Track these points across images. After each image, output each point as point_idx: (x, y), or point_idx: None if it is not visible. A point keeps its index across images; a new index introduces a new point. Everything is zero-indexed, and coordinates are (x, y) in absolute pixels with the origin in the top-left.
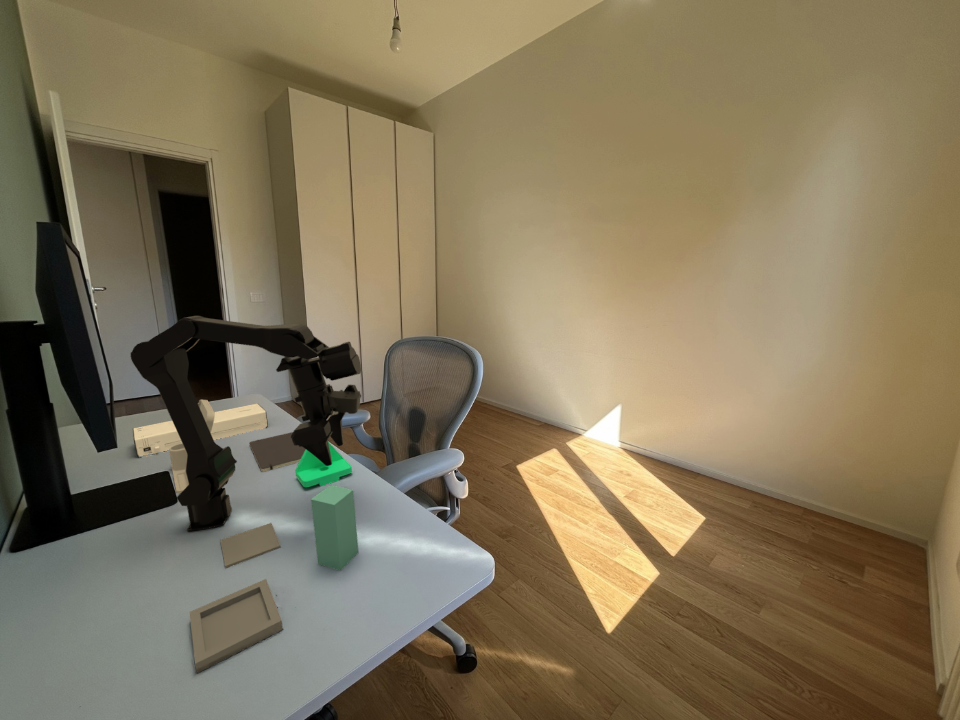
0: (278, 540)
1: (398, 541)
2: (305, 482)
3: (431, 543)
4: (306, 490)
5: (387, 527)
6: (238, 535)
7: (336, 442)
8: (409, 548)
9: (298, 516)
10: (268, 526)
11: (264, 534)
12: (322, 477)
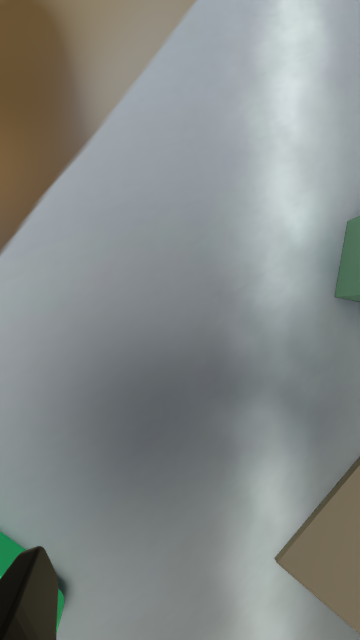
0: (350, 477)
1: (285, 120)
2: (58, 618)
3: (278, 14)
4: (66, 586)
5: (228, 179)
6: (347, 610)
7: (49, 637)
8: (309, 76)
9: (223, 502)
10: (295, 556)
11: (331, 539)
12: (3, 573)
